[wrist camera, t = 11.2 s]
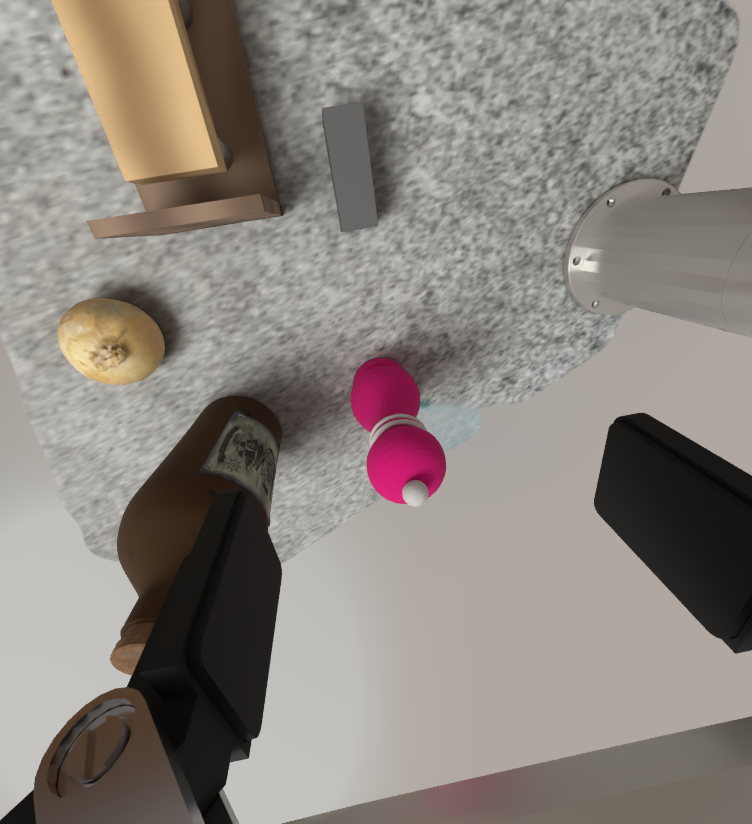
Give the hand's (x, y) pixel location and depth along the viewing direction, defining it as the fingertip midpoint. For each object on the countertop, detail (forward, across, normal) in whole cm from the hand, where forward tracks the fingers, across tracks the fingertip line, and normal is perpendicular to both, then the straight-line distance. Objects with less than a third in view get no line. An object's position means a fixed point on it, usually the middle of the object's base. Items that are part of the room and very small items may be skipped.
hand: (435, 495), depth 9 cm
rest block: (+30, -1, -10) cm, 32 cm away
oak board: (+24, +11, -17) cm, 32 cm away
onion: (+31, +23, 0) cm, 38 cm away
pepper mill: (+31, -1, +10) cm, 32 cm away
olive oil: (+31, +16, +13) cm, 37 cm away
